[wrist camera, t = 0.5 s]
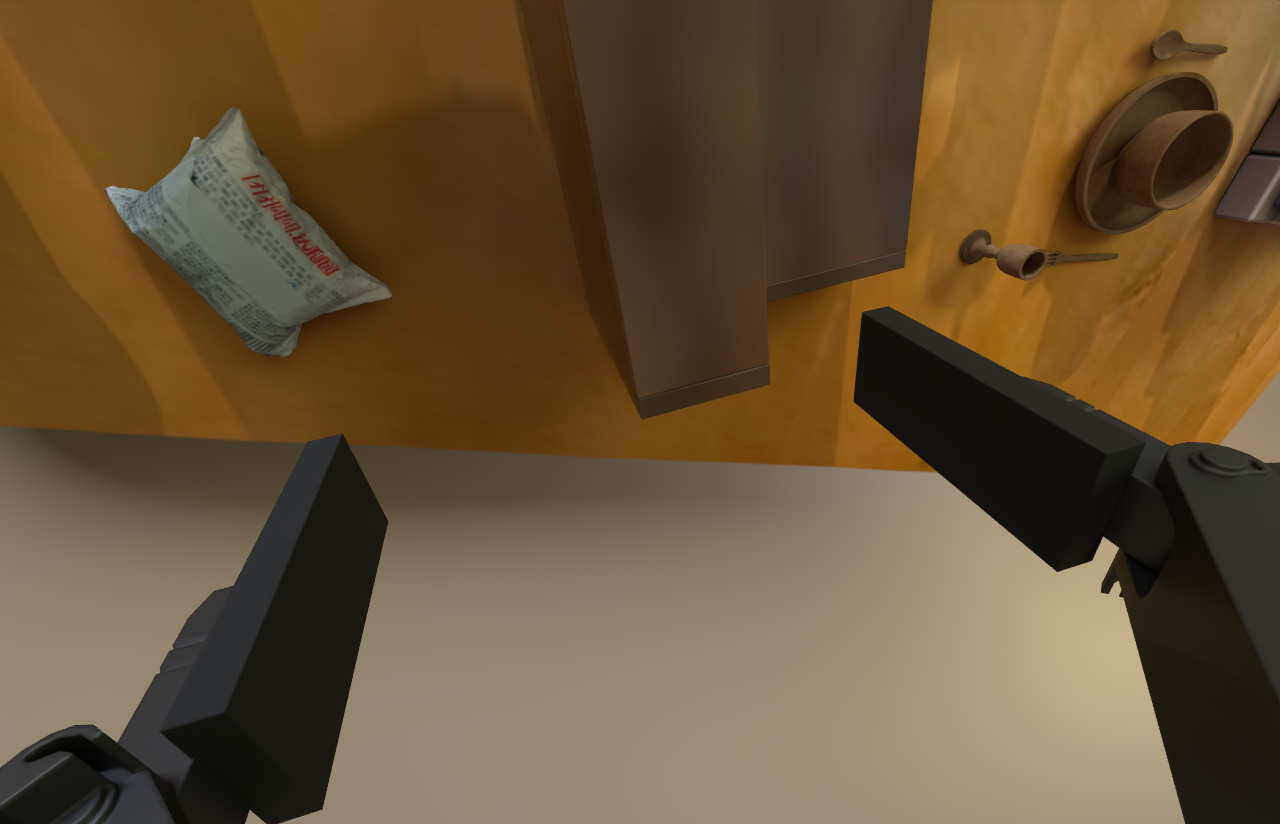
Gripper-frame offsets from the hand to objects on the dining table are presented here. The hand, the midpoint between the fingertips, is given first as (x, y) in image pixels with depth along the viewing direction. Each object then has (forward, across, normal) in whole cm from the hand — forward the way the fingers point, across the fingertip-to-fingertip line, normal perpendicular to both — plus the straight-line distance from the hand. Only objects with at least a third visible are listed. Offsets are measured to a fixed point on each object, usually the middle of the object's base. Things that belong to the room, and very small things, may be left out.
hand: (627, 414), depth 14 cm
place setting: (+27, +45, -4) cm, 53 cm away
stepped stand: (+27, +13, +6) cm, 31 cm away
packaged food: (+27, -16, +2) cm, 32 cm away
